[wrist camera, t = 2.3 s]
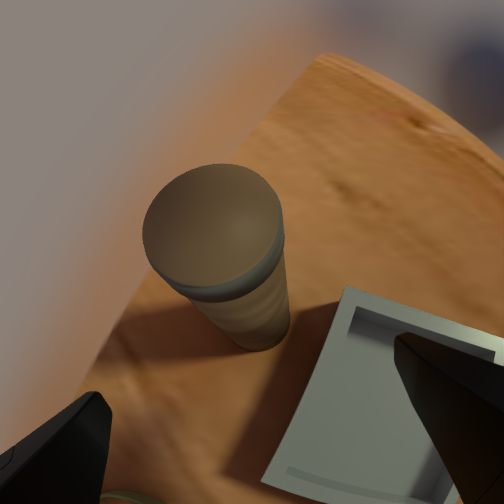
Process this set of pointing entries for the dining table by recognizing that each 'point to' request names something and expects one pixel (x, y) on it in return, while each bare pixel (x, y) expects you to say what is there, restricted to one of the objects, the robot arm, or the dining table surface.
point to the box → (369, 411)
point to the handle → (223, 250)
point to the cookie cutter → (131, 497)
